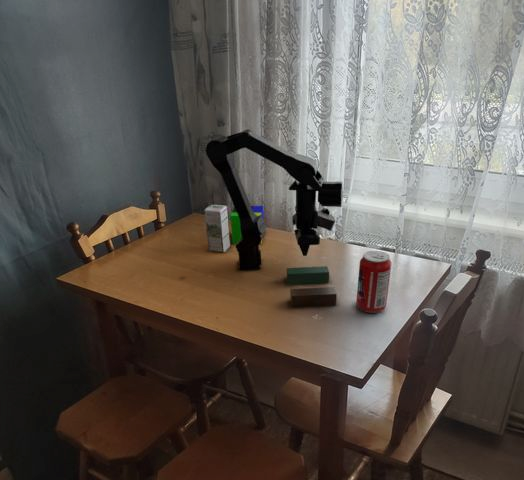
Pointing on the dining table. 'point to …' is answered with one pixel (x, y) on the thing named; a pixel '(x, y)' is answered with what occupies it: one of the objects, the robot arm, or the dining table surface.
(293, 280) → the green bar
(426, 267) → the dining table surface
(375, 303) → the soda can
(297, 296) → the walnut bar
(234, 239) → the puzzle toy
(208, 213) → the syrup box
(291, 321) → the dining table surface
